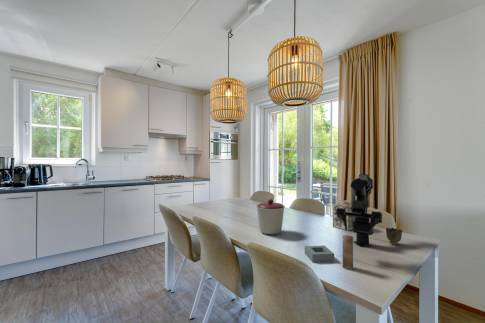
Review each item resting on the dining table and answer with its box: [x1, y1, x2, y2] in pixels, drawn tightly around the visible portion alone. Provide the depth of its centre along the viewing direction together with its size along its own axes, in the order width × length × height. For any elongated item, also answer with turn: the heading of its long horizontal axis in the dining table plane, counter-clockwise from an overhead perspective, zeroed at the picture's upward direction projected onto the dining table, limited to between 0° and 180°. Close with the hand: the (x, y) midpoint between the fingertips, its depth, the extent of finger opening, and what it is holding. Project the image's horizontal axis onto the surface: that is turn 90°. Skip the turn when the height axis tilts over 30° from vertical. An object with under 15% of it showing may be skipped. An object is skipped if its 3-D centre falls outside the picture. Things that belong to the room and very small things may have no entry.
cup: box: [385, 227, 403, 246], centre depth 124 cm, size 8×7×8 cm
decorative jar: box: [332, 199, 355, 232], centre depth 155 cm, size 12×12×18 cm
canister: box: [255, 198, 286, 236], centre depth 145 cm, size 18×18×21 cm
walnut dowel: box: [342, 234, 354, 271], centre depth 97 cm, size 4×4×13 cm
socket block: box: [304, 245, 335, 263], centre depth 107 cm, size 10×10×4 cm
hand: (357, 232), depth 102 cm, fingers open, 9 cm apart
